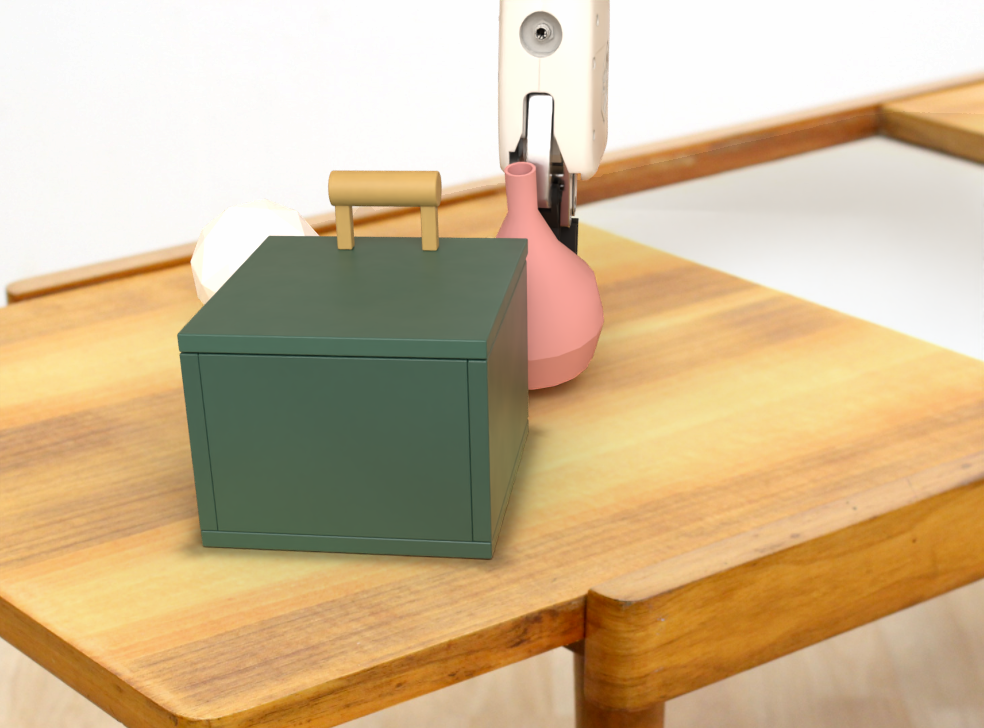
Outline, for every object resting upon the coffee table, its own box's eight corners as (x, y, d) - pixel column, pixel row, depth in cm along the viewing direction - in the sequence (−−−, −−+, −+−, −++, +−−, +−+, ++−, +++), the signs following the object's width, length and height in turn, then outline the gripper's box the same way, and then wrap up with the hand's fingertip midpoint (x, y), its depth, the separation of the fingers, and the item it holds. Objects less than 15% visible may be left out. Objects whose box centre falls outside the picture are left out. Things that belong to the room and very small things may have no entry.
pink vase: (579, 426, 79) (570, 215, 71) (441, 405, 81) (417, 199, 74) (622, 344, 84) (618, 140, 77) (491, 327, 87) (474, 127, 79)
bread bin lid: (269, 251, 75) (261, 160, 73) (528, 254, 73) (527, 160, 71) (178, 352, 63) (165, 246, 61) (487, 359, 61) (484, 250, 59)
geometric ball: (271, 385, 91) (223, 308, 84) (197, 311, 95) (145, 230, 88) (369, 304, 92) (329, 221, 85) (291, 233, 96) (248, 148, 89)
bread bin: (281, 424, 79) (266, 255, 75) (528, 432, 77) (526, 259, 73) (201, 547, 67) (178, 353, 63) (492, 559, 65) (487, 361, 61)
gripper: (618, -44, 70) (602, 342, 78) (639, -79, 83) (624, 255, 91) (453, -46, 71) (455, 334, 79) (500, -81, 84) (498, 249, 92)
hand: (545, 291), depth 85 cm, fingers closed
